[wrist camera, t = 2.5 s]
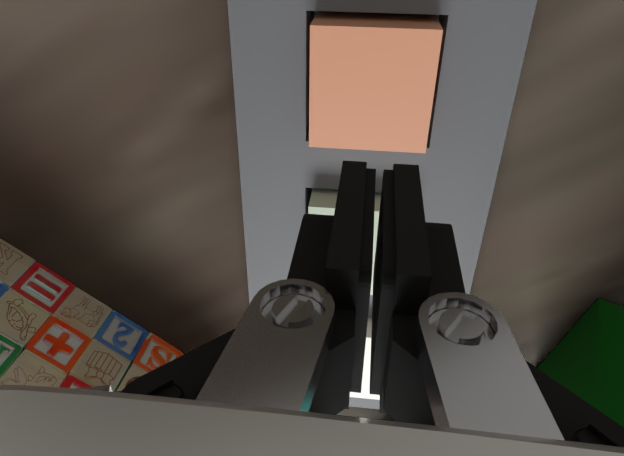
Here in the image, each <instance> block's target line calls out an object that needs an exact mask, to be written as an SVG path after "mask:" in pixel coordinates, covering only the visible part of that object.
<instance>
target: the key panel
mask: <svg viewBox="0 0 624 456" xmlns="http://www.w3.org/2000/svg"><path fill="white" fill-rule="evenodd" d="M227 1H228V15H229V29H230V43H231V56H232V70H233V84H234V98H235V112H236V125H237V139H238V153H239V167H240V180H241V194H242V208H243V222H244V236H245V249H246V263H247V277H248V291H249V304H250V303H251V301H252V299H253V297H254V296H255V295H256V294H257V292H258V291H259V290H260V289H262V288H263V287H265V286H266V285H268V284H270V283H273V282H276V281H279V280H284V279H287V277H288V273H289V269H290V265H291V261H292V257H293V253H294V249H295V246H296V242H297V238H298V234H299V230H300V226H301V222H302V218H303V215H304V214H308V206H309V202H310V198H311V193H312V189H313V188H321V189H337V190H338V187H339V181H340V175H341V169H342V163H343V160H344V161H360V162H367V167H366V168H370V169H376V183H375V192H381V190H382V180H383V171H384V169H386V170H393V165H394V164H409V165H419V172H420V180H421V189H422V197H423V205H424V214H425V222H430V223H444V224H451V225H452V228H453V233H454V238H455V243H456V248H457V253H458V258H459V263H460V268H461V273H462V278H463V283H464V288H465V293H466V294H470V290H471V285H472V281H473V277H474V272H475V268H476V264H477V259H478V255H479V251H480V246H481V242H482V238H483V233H484V229H485V225H486V220H487V216H488V212H489V207H490V203H491V199H492V194H493V190H494V186H495V181H496V177H497V173H498V168H499V164H500V160H501V155H502V151H503V147H504V142H505V138H506V134H507V129H508V125H509V121H510V116H511V112H512V108H513V103H514V99H515V95H516V90H517V86H518V82H519V77H520V73H521V69H522V64H523V60H524V56H525V51H526V47H527V43H528V38H529V34H530V30H531V25H532V21H533V17H534V12H535V8H536V4H537V0H227ZM318 11H324V12H355V13H387V14H418V15H436V17H437V19H438V21H439V23H440V25H441V27H442V29H443V34H442V41H441V48H440V55H439V62H438V70H437V77H436V84H435V91H434V98H433V105H432V112H431V119H430V126H429V133H428V140H427V147H426V153H409V152H391V151H373V150H355V149H337V148H319V147H309V76H310V24H311V22H312V21H313V19H314V17H315V16H316V14H317V12H318ZM372 301H373V295H370V302H369V312H368V317H372ZM349 406H351V407H361V408H371V409H380V400H375V399H365V398H355V397H349Z"/></svg>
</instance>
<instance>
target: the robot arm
mask: <svg viewBox="0 0 624 456" xmlns="http://www.w3.org/2000/svg"><path fill="white" fill-rule="evenodd" d="M366 167H367V162H360V161H344V160H343V163H342V169H341V175H340V181H339V187H338V194H337V200H336V206H335V212H334V216H333V215H319V214H304V215H303V218H302V222H301V226H300V230H299V234H298V238H297V242H296V246H295V249H294V253H293V257H292V261H291V265H290V269H289V273H288V277H287V279H284V280H279V281H276V282H273V283H270V284H268V285H266V286H265V287H263V288H262V289H260V290H259V291H258V292H257V294H256V295H255V296H254V297H253V299H252V301H251V303H250V304H249V306H248V308H247V310H246V311H245V313H244V315H243V317H242V318H241V320H240V322H239V324H238V326H237V327H236V329H234V330H232V331H230V332H228V333H226V334H224V335H222V336H220V337H218V338H216V339H214V340H212V341H210V342H208V343H206V344H204V345H202V346H200V347H198V348H196V349H194V350H192V351H190V352H188V353H186V354H184V355H182V356H180V357H178V358H176V359H174V360H172V361H170V362H168V363H166V364H164V365H162V366H160V367H158V368H156V369H154V370H152V371H150V372H148V373H146V374H144V375H142V376H140V377H139V378H137V379H136V380H134V381H132V382H131V383H129V384H128V385H127V386H126V387H125V388H124V389H123V390H122V391H115V392H112V388H111V385H105V386H94V387H83V388H62V387H45V386H29V385H0V456H624V427H622V426H621V425H620V424H618V423H617V422H615V421H614V420H612V419H611V418H609V417H608V416H606V415H605V414H603V413H602V412H600V411H599V410H598V409H596V408H595V407H593V406H592V405H590V404H589V403H587V402H586V401H584V400H583V399H581V398H580V397H578V396H577V395H576V394H574V393H573V392H571V391H570V390H568V389H567V388H565V387H564V386H562V385H561V384H559V383H558V382H557V381H555V380H554V379H552V378H551V377H549V376H548V375H546V374H545V373H543V372H542V371H540V370H539V369H537V368H536V367H535V366H533V365H532V364H530V363H529V362H527V361H526V360H525V359H524V357H523V355H522V353H521V351H520V349H519V347H518V345H517V343H516V341H515V339H514V336H513V334H512V332H511V330H510V328H509V326H508V324H507V322H506V320H505V319H504V317H503V316H502V315H501V313H500V312H499V310H497V309H496V308H495V307H494V306H492V305H491V304H490V303H488V302H486V301H484V300H483V299H481V298H479V297H476V296H473V295H469V294H466V293H465V288H464V283H463V278H462V273H461V268H460V263H459V258H458V253H457V248H456V243H455V238H454V233H453V228H452V225H451V224H444V223H430V222H425V214H424V205H423V197H422V189H421V180H420V172H419V165H409V164H394V165H393V170H386V169H384V171H383V180H382V190H381V200H380V211H379V221H378V231H377V242H376V252H375V262H374V275H373V301H372V331H371V361H370V394H375V395H380V412H381V413H387V414H388V415H389V416H391V417H392V418H393V419H394V420H395V421H387V420H378V419H369V418H360V417H351V416H342V415H336V414H338V413H339V412H341V411H342V410H344V409H349V397H350V392H356V393H361V386H362V376H363V365H364V355H365V344H366V333H367V323H368V312H369V302H370V291H371V280H372V265H373V238H374V210H375V183H376V169H370V168H366Z"/></svg>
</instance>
